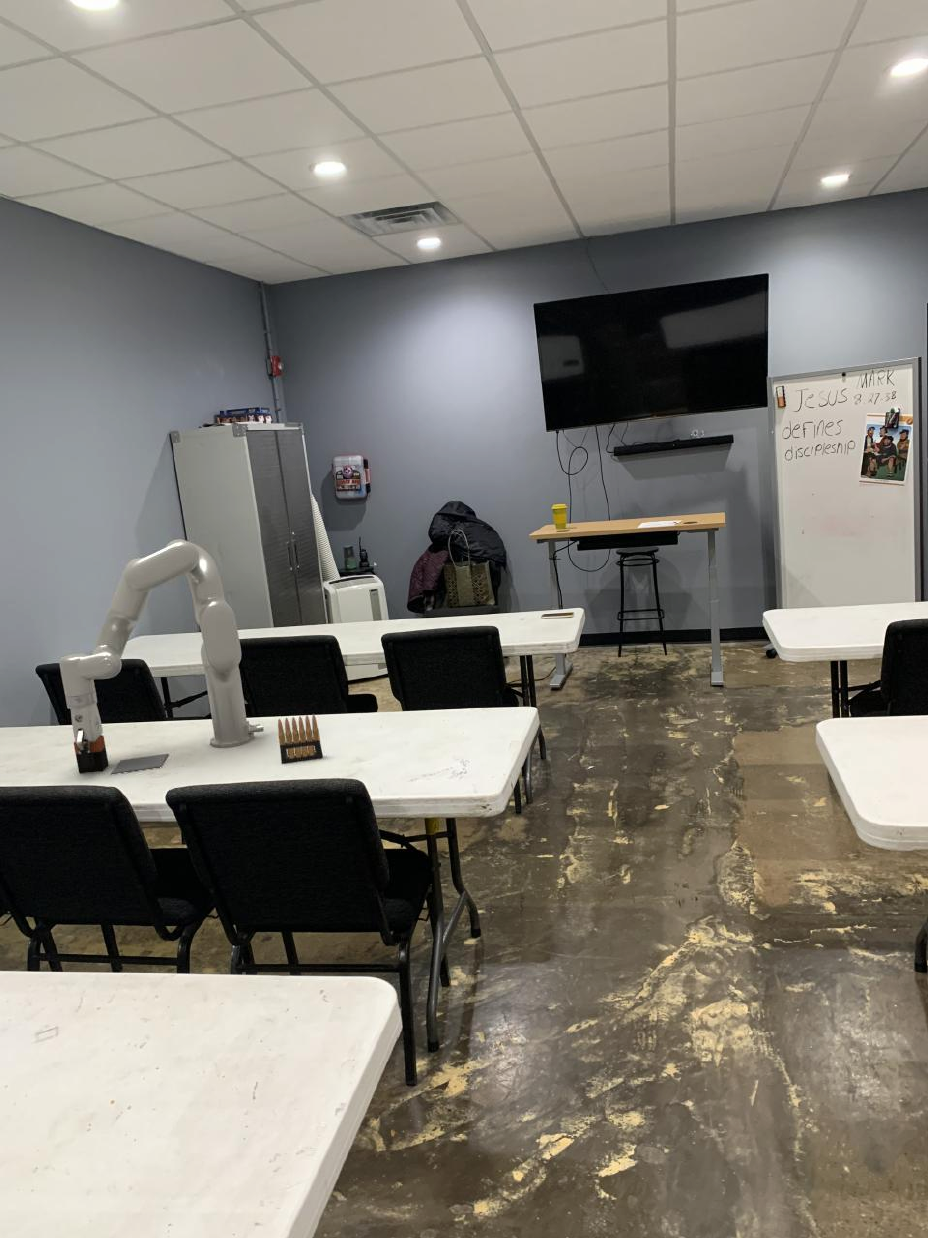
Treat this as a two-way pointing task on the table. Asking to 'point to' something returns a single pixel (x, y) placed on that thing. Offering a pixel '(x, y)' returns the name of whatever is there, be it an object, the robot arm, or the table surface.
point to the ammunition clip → (299, 741)
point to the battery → (94, 756)
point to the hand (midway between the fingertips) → (92, 761)
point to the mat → (140, 763)
